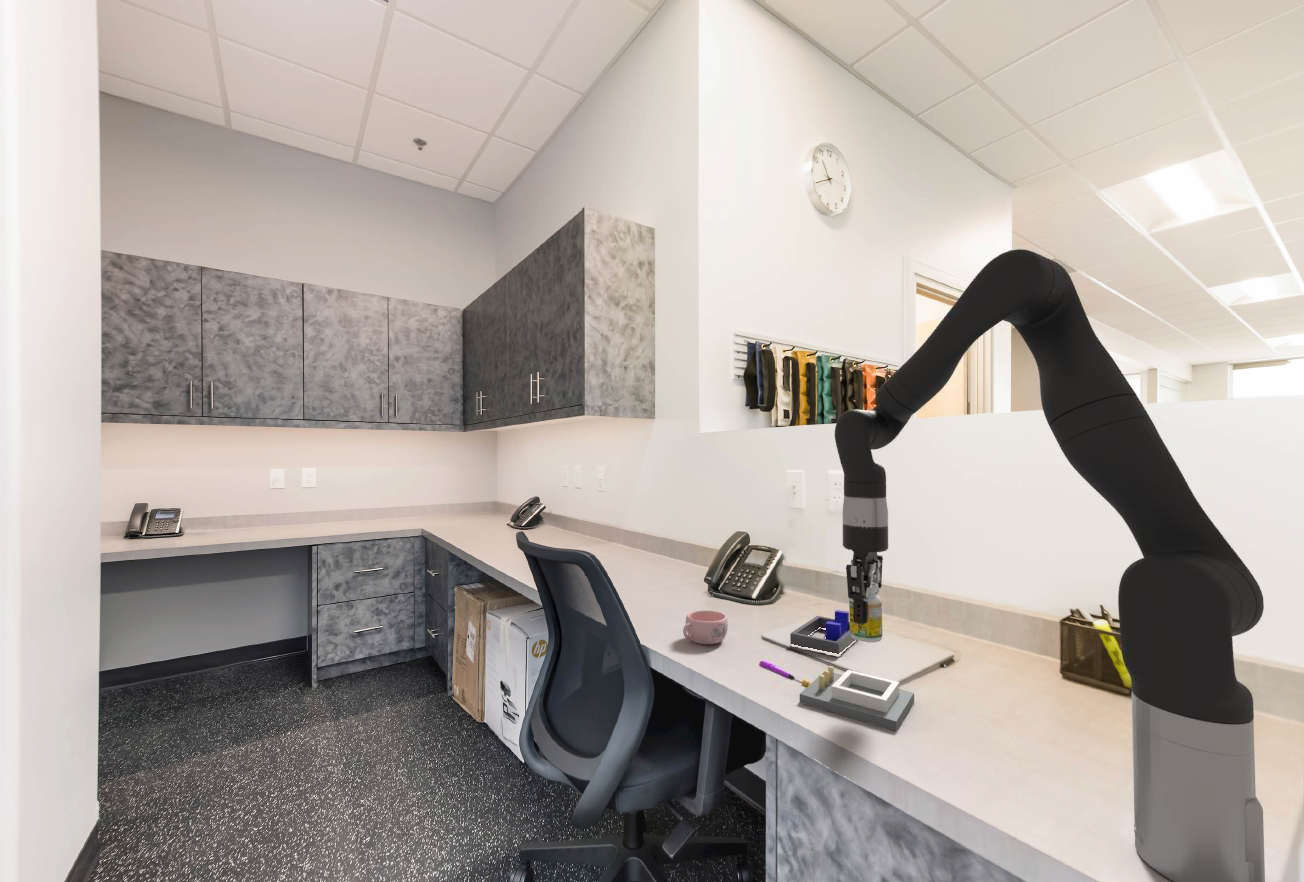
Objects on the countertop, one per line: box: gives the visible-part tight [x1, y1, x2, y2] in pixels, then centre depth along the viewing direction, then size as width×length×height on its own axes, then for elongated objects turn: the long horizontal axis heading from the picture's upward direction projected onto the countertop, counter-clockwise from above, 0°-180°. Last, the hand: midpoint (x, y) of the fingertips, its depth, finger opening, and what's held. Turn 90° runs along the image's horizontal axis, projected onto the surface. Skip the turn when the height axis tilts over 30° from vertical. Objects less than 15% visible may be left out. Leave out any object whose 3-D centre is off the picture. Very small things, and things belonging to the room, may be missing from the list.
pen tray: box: [789, 615, 855, 654], centre depth 126 cm, size 11×17×3 cm, turn 143°
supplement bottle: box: [848, 581, 883, 643], centre depth 95 cm, size 5×5×10 cm
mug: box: [682, 609, 729, 645], centre depth 126 cm, size 12×10×6 cm
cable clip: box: [824, 609, 850, 641], centre depth 126 cm, size 12×4×6 cm, turn 151°
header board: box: [799, 665, 915, 731], centre depth 95 cm, size 16×13×4 cm
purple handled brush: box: [759, 660, 812, 688], centre depth 106 cm, size 3×1×16 cm
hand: (865, 618), depth 95 cm, fingers closed on supplement bottle, 5 cm apart
